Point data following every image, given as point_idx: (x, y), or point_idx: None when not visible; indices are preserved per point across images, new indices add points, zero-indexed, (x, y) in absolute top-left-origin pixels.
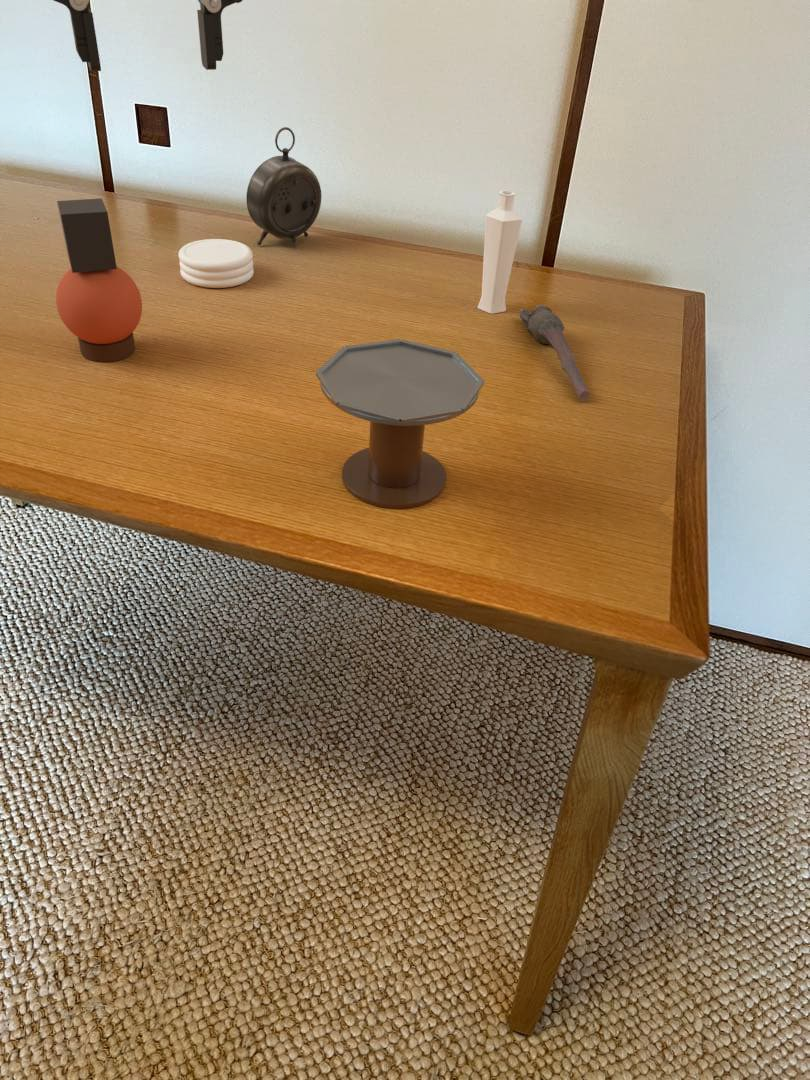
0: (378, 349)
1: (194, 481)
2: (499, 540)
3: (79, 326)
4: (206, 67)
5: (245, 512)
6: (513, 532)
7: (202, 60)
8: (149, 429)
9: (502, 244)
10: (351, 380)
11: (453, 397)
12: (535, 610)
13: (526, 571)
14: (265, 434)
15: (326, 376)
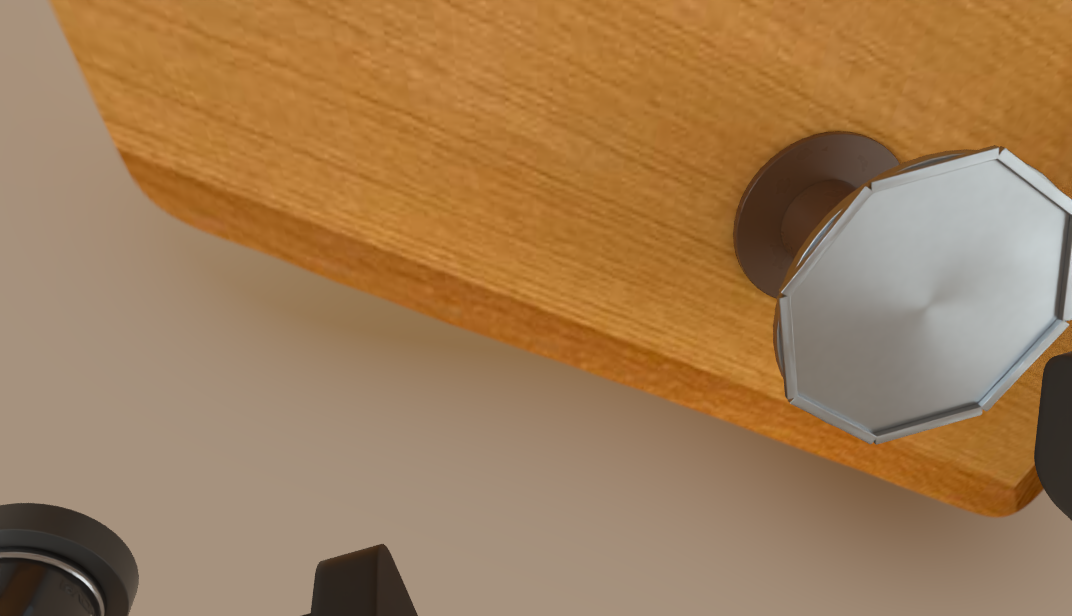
0: (936, 183)
1: (484, 220)
2: None
3: None
4: (1043, 459)
5: (568, 302)
6: None
7: (1068, 390)
8: (377, 32)
9: None
10: (837, 313)
11: (990, 365)
12: (886, 475)
13: None
14: (620, 65)
15: (795, 298)
